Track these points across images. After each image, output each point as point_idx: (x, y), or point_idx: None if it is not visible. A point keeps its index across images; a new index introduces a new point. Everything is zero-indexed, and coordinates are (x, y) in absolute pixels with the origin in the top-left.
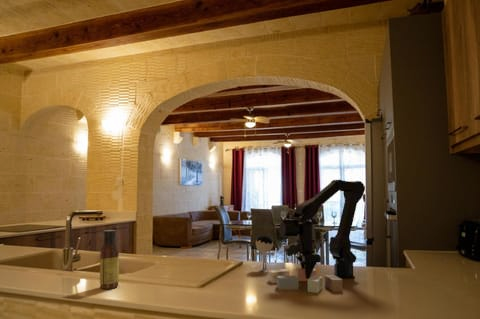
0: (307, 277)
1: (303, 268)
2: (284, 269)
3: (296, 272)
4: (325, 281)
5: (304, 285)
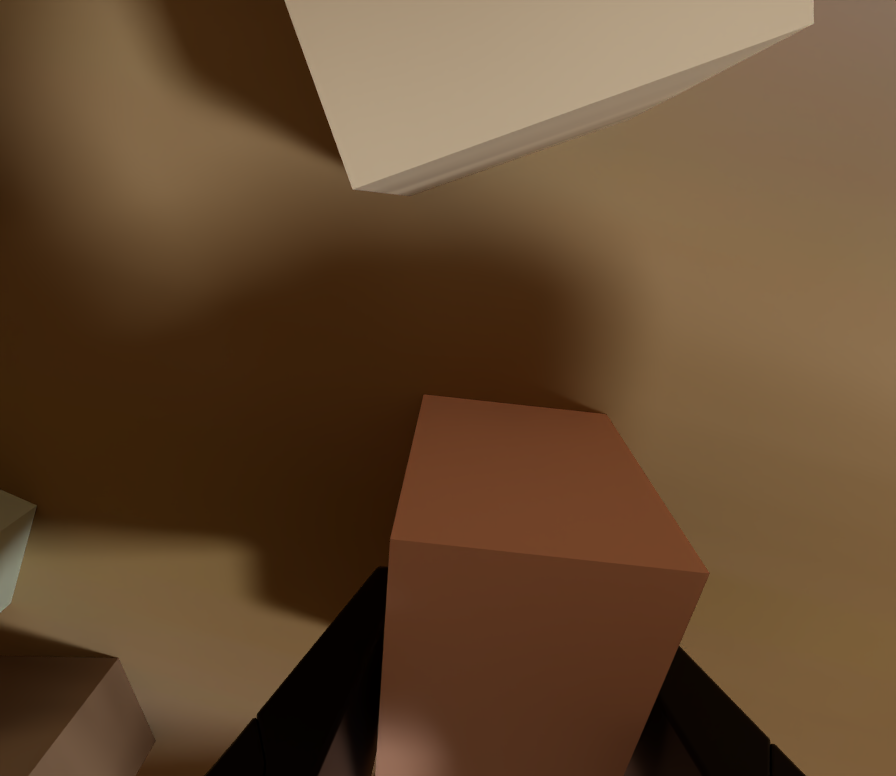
0: (371, 590)
1: (632, 732)
2: (719, 4)
3: (644, 489)
4: (36, 731)
5: (97, 415)
